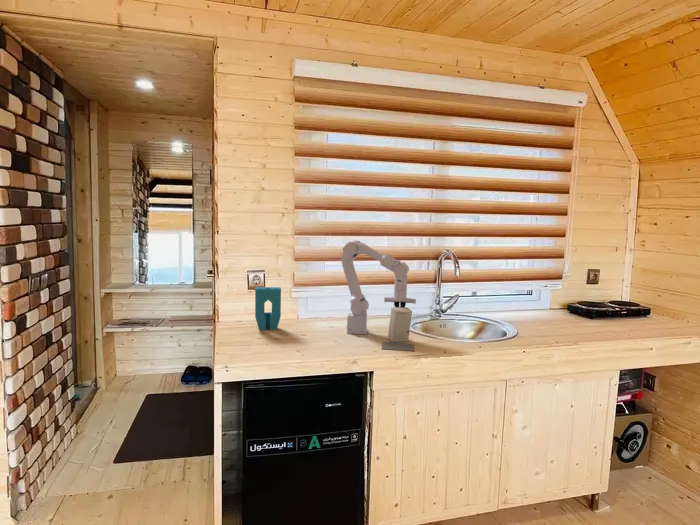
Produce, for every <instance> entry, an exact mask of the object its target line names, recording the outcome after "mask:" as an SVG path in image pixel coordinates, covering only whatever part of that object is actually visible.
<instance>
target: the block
mask: <svg viewBox="0 0 700 525" xmlns="http://www.w3.org/2000/svg"><path fill="white" fill-rule="evenodd" d="M254 292H255V296H254V297H255V299H254V301H255V306H254V308H255V309H254V310H255V311H254V312H255V314H254V319H255V320H256V321H255V322H256V324H257V329H258V330H259V331H266V330H267V329H269V331H277V330H278V327H279V323H280V320H281V314H282V313H281V312H282V311H281V308H282V307H281V306H282V301H281V300H282V288H281V287H279V286H278V287H273V286H269V287H268V286H267V287H266V286H262V287H261V286H259V287H257V286H256V287H255V291H254ZM267 301H269V302H270V303H271V312H265V304H266V303H267Z"/></svg>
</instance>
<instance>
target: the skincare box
mask: <svg viewBox="0 0 700 525" xmlns="http://www.w3.org/2000/svg"><path fill="white" fill-rule="evenodd" d="M412 315H413V310H411V309H410V308H408V307H407V306H405V307H400V306H399V307H395V306H394V307H391V308H390V316H389V325H388V326H389V327H388V333H387V338H388V339H389V340H390V342H396V343H402V342H409V337H410V329H411V324H412V323H411V322H412Z"/></svg>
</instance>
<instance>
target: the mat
mask: <svg viewBox="0 0 700 525" xmlns="http://www.w3.org/2000/svg"><path fill="white" fill-rule="evenodd" d="M381 350H387V351H389V350H390V351H403V352H415V343H408V342H392V341H382V344H381Z"/></svg>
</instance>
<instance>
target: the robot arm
mask: <svg viewBox="0 0 700 525" xmlns="http://www.w3.org/2000/svg"><path fill="white" fill-rule="evenodd" d="M358 255H366V256H369V257H370V258H372V259H374V260H376V261H378V262H379V263H380V265H381V266H382V267H384V268H385V269H387V270H389V271H391V272H392V273H393V274H394V288H393V290H394V291H393V296H387V297H384V299H383V302H384V303H393V305H394V307H406V306H407V305H406V304H414V305H416V304H417V299H416V298H410V297H407V294H408V292H407V291H408V273H409V271H410V269H409V268H410V267H409V266H408V264H406V262H404V261H403V262H402V261H401V260H398V259H396V258H394V257H393V256H392V254H389V255H388V254H382V253H380V252H378V251H377V250H375V249H374V248H372V247H371V246H370V245H367V244H366V243H364V242H361V241H360V240H354V241H353V240H352V241H348V242H346V243H345V245H344V246H343V247H342V255H341V260H340V262H341V264H342V269H343V272H344V275H345V279H346V282H347V286H348V289H349V290H348V291H349V293H350V301H349V302H350V311H351V313H347V320H346V334H351V335H353V334H354V335H367V334H368V330H369V329H368V328H367V327H368V326H367V323H368V313H367V311H368V309H369V306H370V305H369V301H368V300H367V299H366V297H365V295H364V294H363V292H362V289H361V286H360V283H359V279H358V274H357V272H356V269H355V265H354V261H355V259H356V257H357V256H358Z"/></svg>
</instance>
